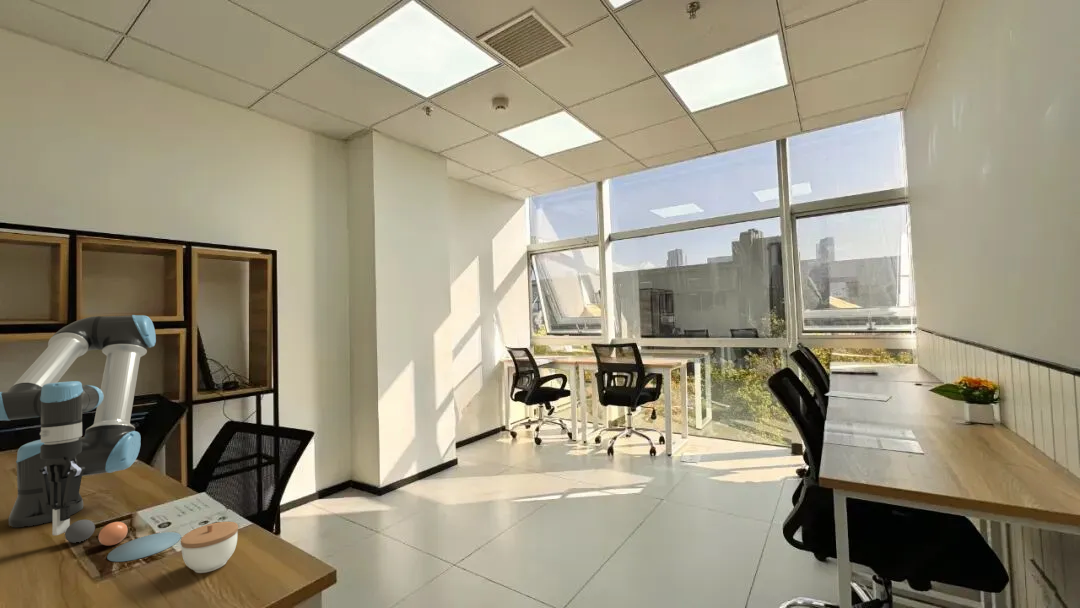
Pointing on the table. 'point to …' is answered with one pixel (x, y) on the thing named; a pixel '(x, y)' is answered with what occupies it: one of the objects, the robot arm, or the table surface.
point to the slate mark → (144, 546)
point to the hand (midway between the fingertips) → (61, 532)
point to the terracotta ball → (113, 533)
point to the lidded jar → (209, 546)
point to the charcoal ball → (79, 531)
